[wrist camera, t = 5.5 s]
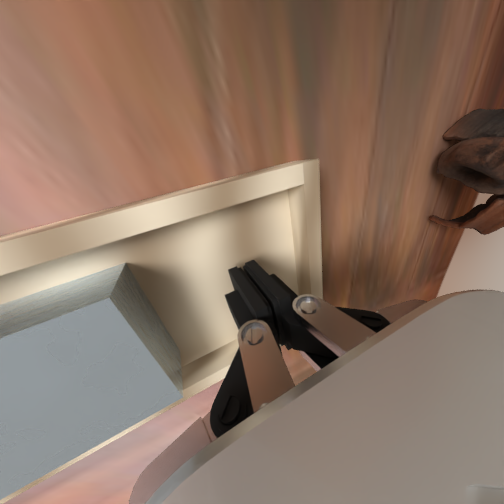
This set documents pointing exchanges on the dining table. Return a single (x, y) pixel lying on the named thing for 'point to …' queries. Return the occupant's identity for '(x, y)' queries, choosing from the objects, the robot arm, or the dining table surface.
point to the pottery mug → (477, 167)
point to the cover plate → (79, 371)
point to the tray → (183, 259)
